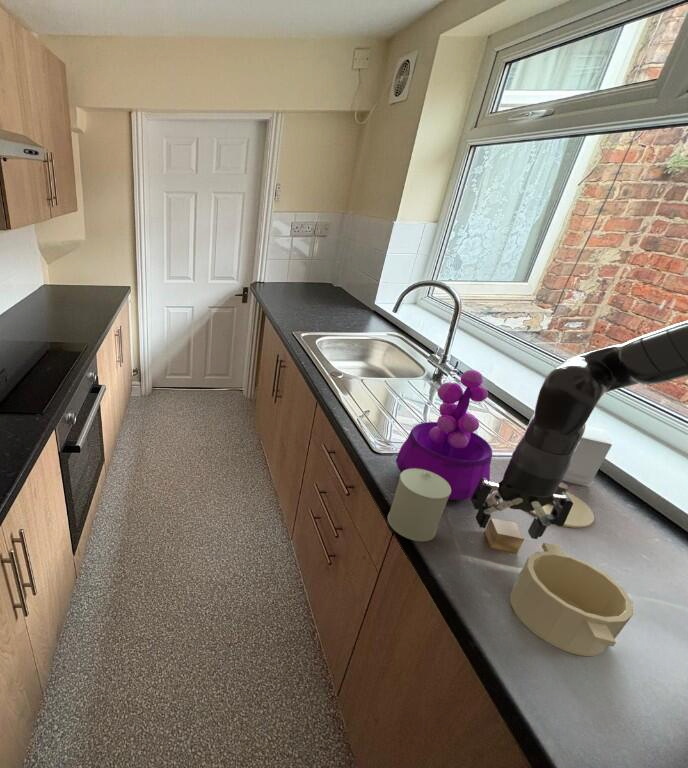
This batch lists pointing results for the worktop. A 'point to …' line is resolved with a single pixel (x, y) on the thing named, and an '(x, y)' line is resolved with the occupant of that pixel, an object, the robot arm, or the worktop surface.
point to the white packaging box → (588, 456)
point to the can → (418, 504)
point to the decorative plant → (451, 440)
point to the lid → (572, 510)
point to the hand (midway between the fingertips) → (506, 530)
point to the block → (504, 535)
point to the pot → (570, 602)
